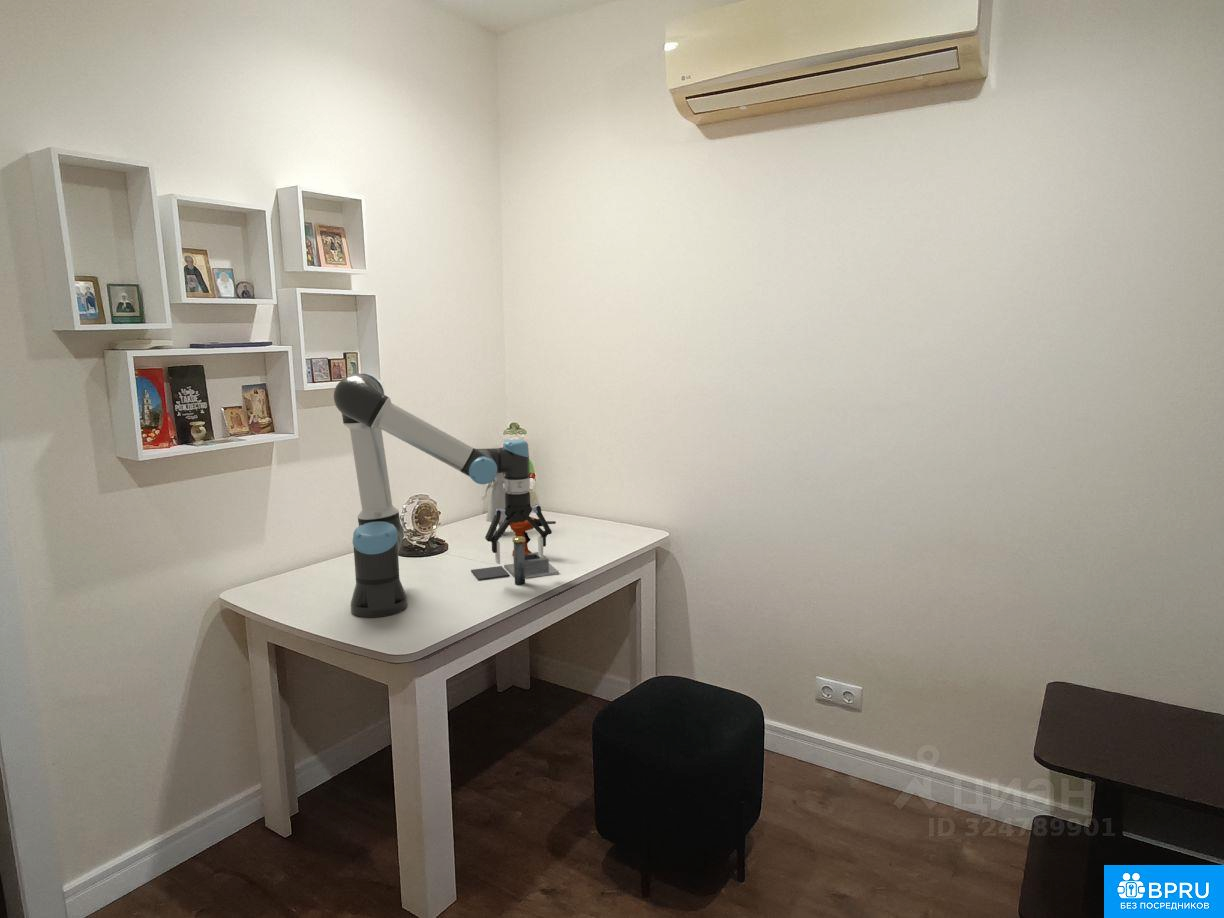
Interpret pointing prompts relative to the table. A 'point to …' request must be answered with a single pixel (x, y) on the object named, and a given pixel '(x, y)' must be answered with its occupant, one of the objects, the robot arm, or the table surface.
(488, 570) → the mat
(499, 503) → the character figure
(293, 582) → the table surface
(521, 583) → the gold capped cylinder
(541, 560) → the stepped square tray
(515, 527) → the toy drill
